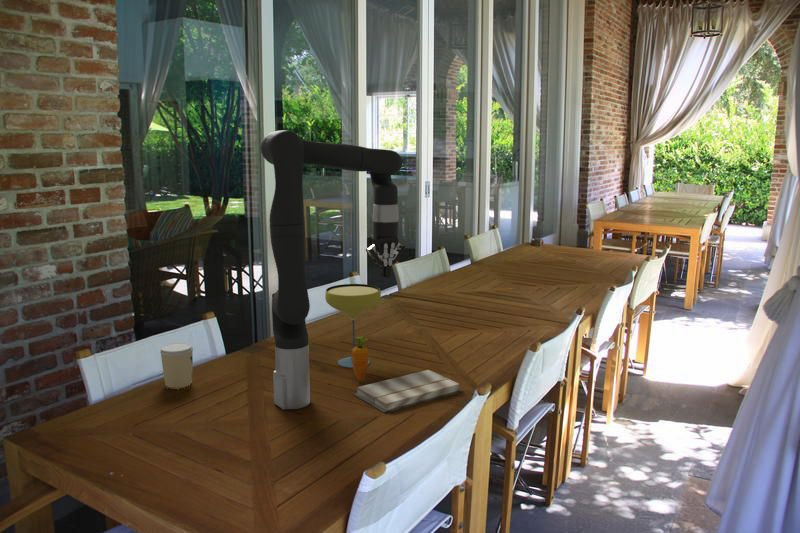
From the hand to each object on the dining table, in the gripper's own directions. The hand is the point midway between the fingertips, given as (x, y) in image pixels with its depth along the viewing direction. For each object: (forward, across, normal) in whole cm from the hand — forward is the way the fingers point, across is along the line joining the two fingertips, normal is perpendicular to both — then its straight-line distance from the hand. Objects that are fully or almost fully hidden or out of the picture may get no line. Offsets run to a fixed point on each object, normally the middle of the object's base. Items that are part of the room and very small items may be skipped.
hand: (385, 277), depth 197 cm
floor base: (+33, +1, -10) cm, 35 cm away
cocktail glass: (+33, +2, +22) cm, 40 cm away
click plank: (+33, +1, -7) cm, 33 cm away
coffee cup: (+33, -52, +35) cm, 71 cm away
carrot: (+33, -6, +5) cm, 34 cm away
